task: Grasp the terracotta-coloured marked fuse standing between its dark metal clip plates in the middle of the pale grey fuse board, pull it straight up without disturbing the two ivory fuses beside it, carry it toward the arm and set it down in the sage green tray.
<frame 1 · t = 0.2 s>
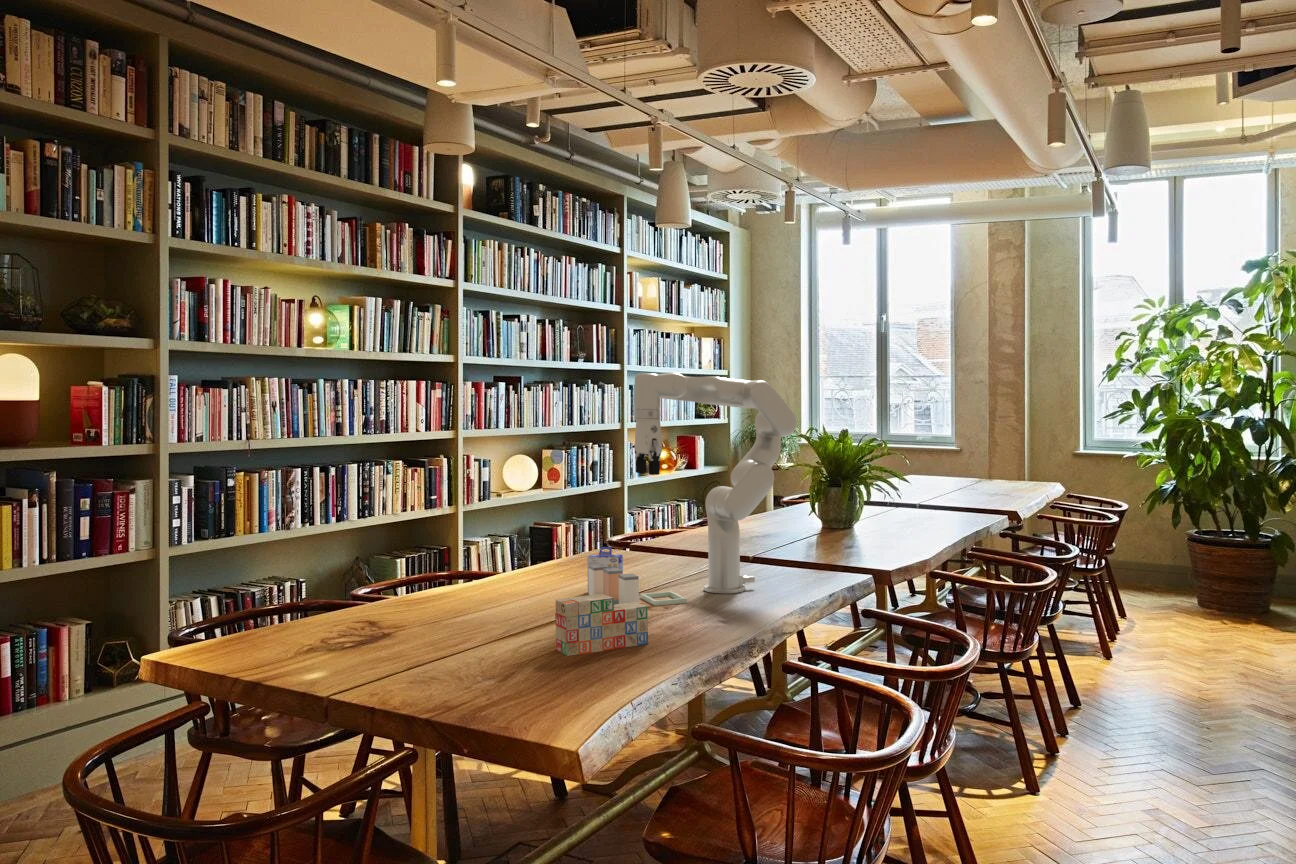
hand: (647, 473, 297), 36 cm above the table, tool pointing down, fingers open, 9 cm apart
marked fuse: (613, 604, 282), point 1 cm above the table, touching fuse board
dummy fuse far: (598, 600, 290), point 1 cm above the table, touching fuse board
tray: (663, 604, 287), on the table
ink cartridge box: (605, 596, 301), on the table
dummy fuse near: (628, 611, 274), point 1 cm above the table, touching fuse board
fuse board: (613, 609, 282), on the table
stack of blocks: (602, 648, 239), on the table
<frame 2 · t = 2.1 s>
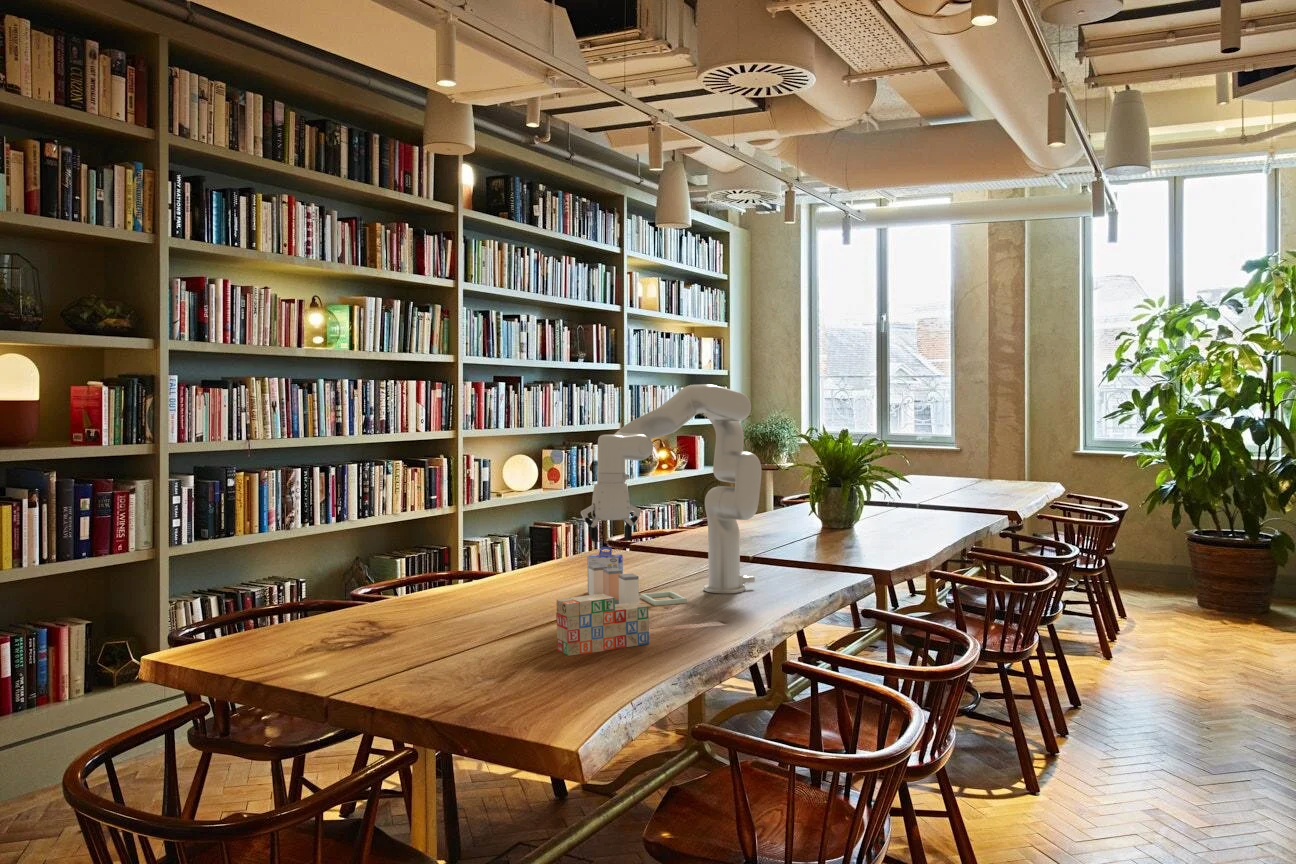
hand: (610, 540, 281), 19 cm above the table, tool pointing down, fingers open, 9 cm apart
nothing on the table moved.
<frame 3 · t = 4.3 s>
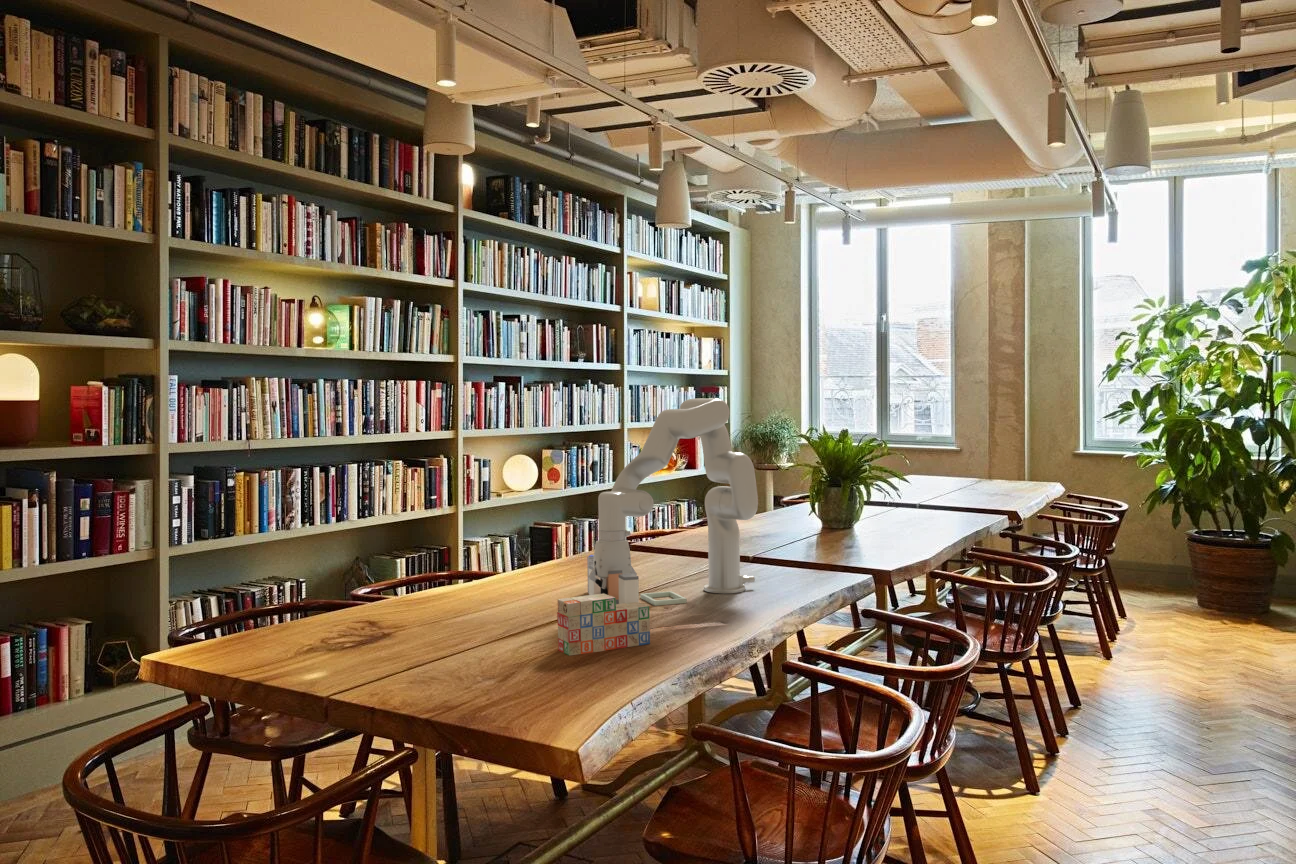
hand: (613, 600, 282), 2 cm above the table, tool pointing down, fingers closed on marked fuse, 4 cm apart
marked fuse: (613, 604, 282), point 1 cm above the table, touching fuse board, gripper
everything else where it was.
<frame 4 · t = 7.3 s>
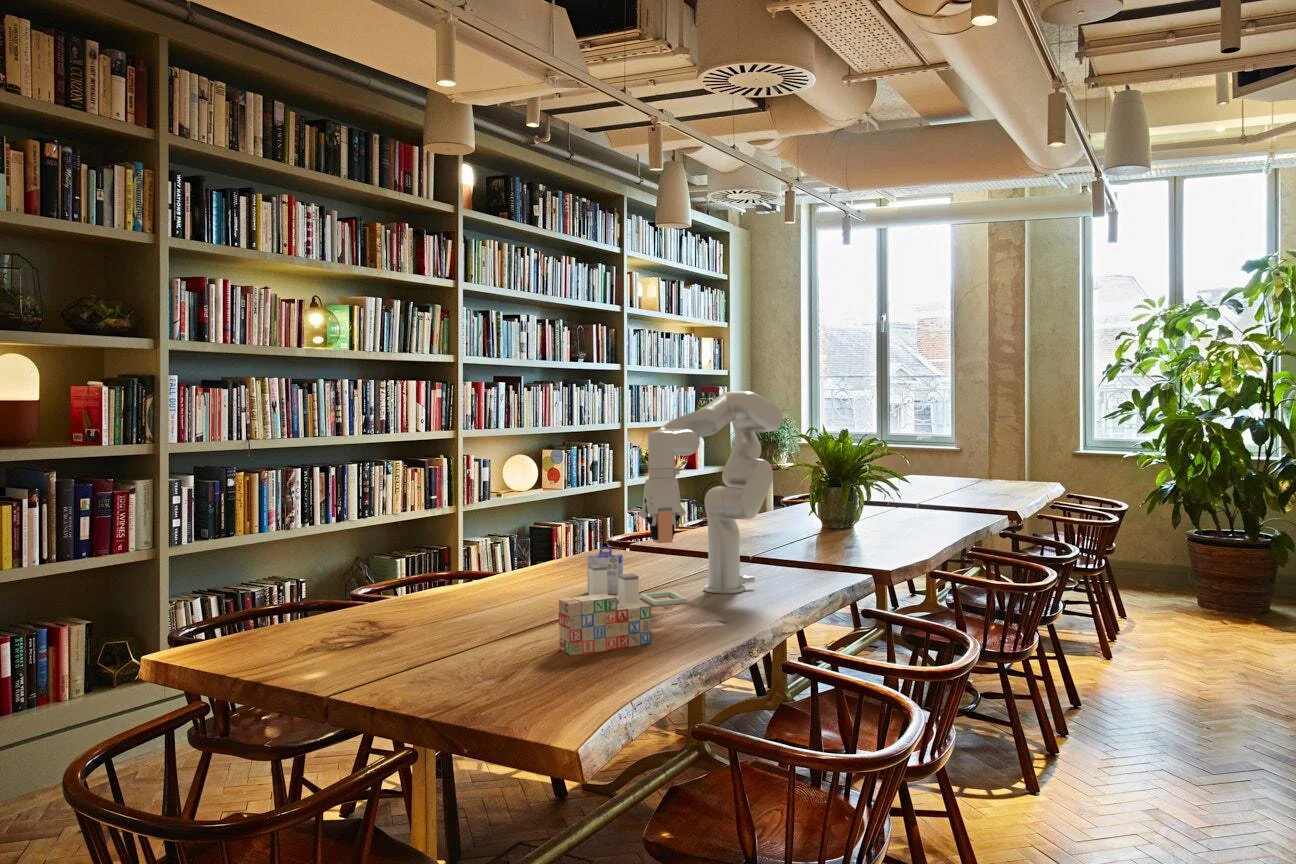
hand: (662, 538, 286), 19 cm above the table, tool pointing down, fingers closed on marked fuse, 4 cm apart
marked fuse: (662, 541, 286), point 18 cm above the table, touching gripper
everything else where it was.
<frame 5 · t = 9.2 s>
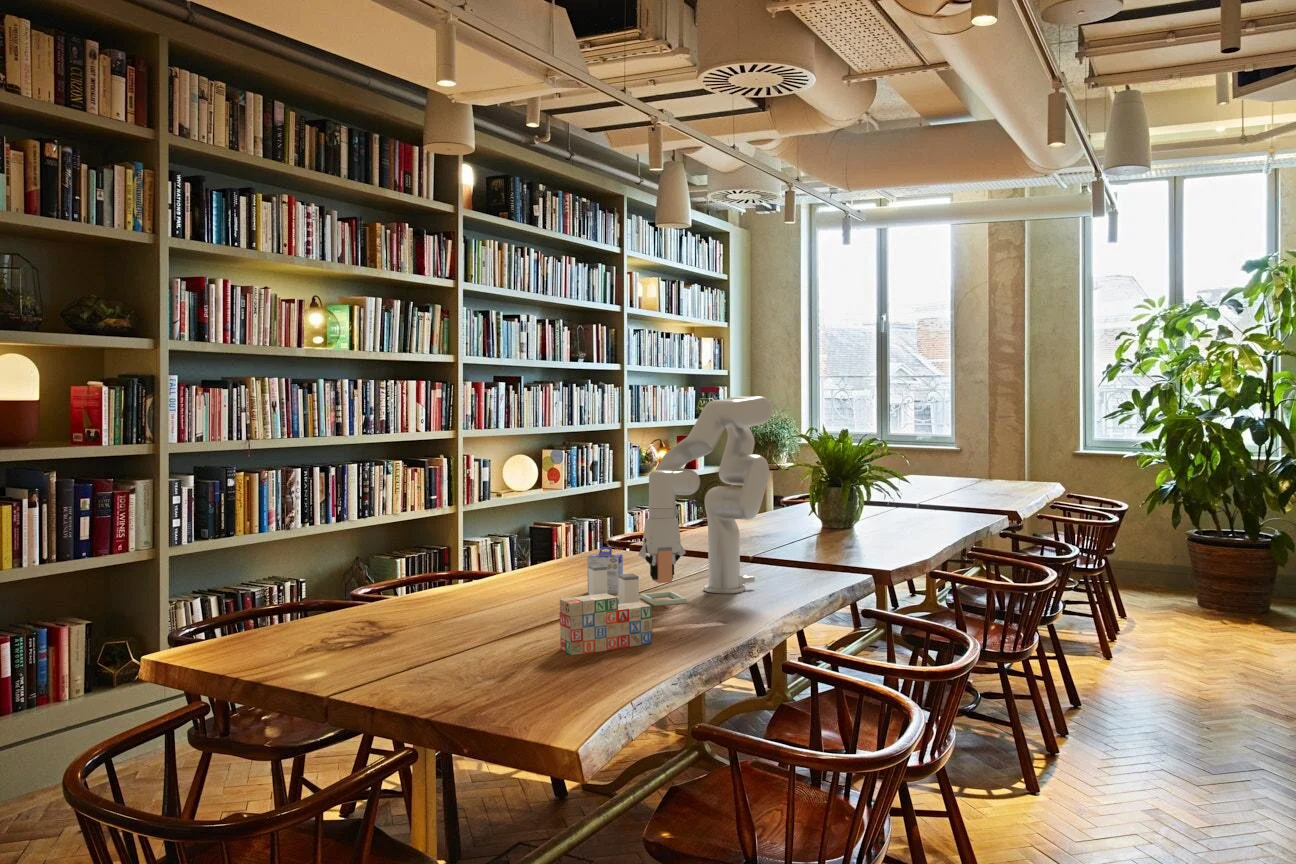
hand: (662, 577, 286), 8 cm above the table, tool pointing down, fingers closed on marked fuse, 4 cm apart
marked fuse: (662, 581, 286), point 7 cm above the table, touching gripper
when the fingers open (3 cm above the table, at t = 10.5 s): marked fuse drops 1 cm, resting on tray.
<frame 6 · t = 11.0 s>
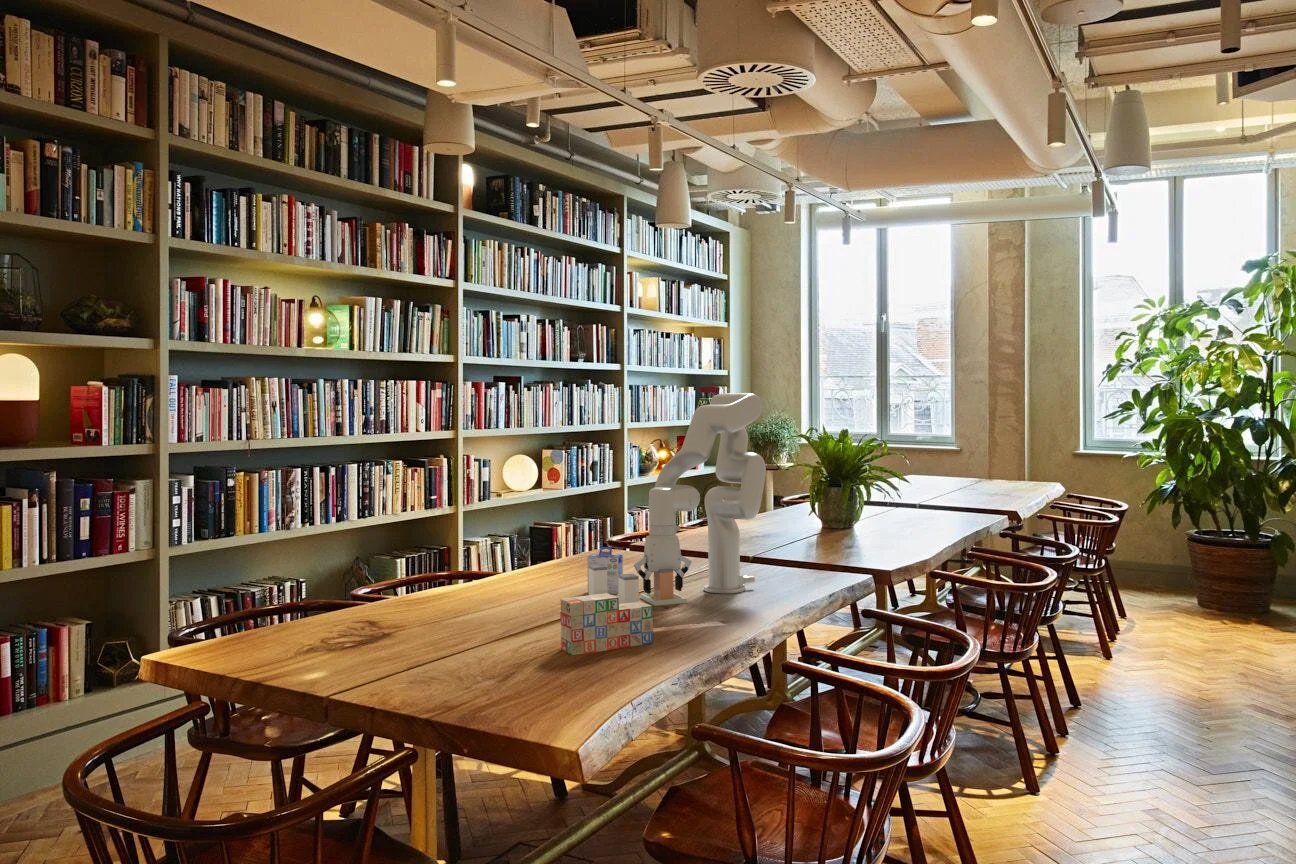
hand: (663, 591, 287), 4 cm above the table, tool pointing down, fingers open, 9 cm apart
marked fuse: (663, 602, 287), point 1 cm above the table, touching tray
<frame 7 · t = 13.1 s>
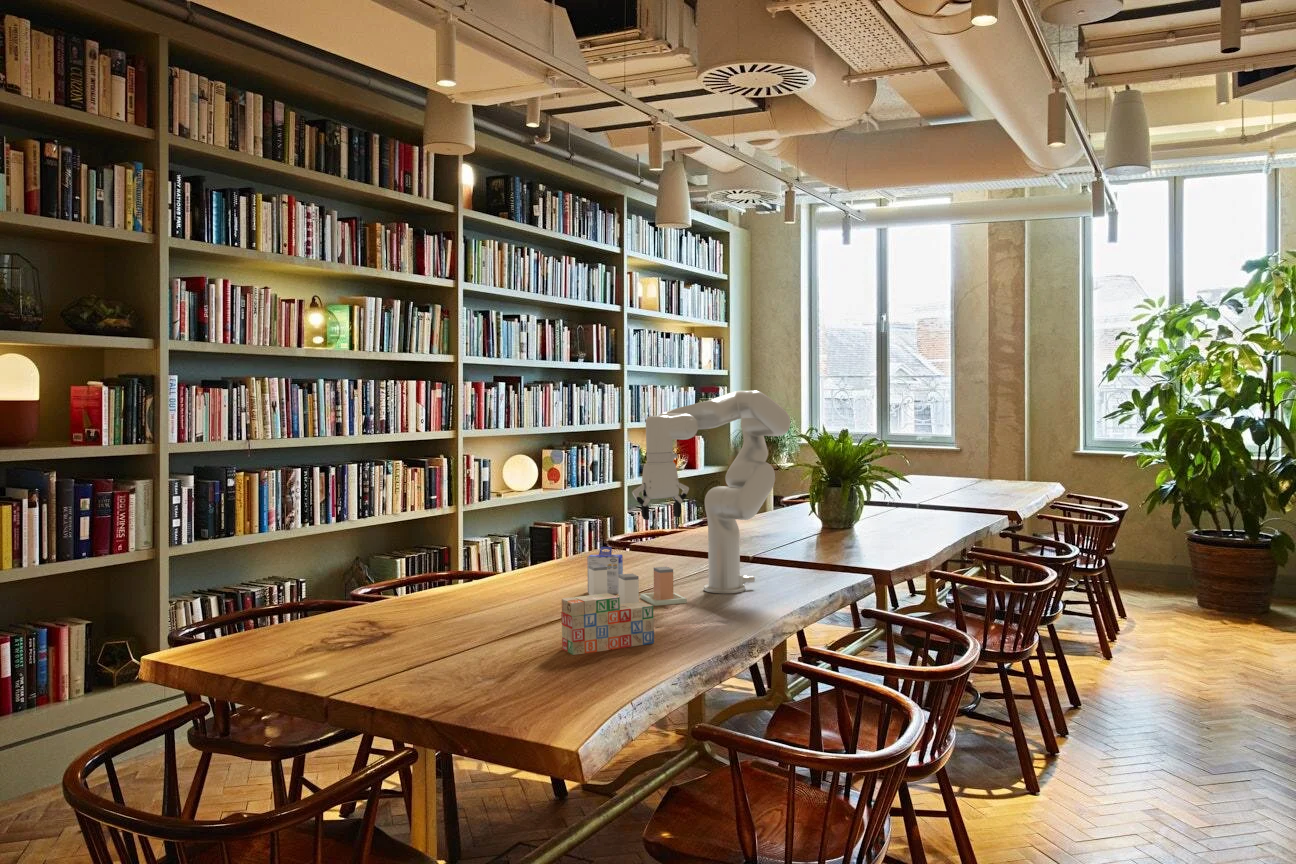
hand: (661, 518, 290), 24 cm above the table, tool pointing down, fingers open, 9 cm apart
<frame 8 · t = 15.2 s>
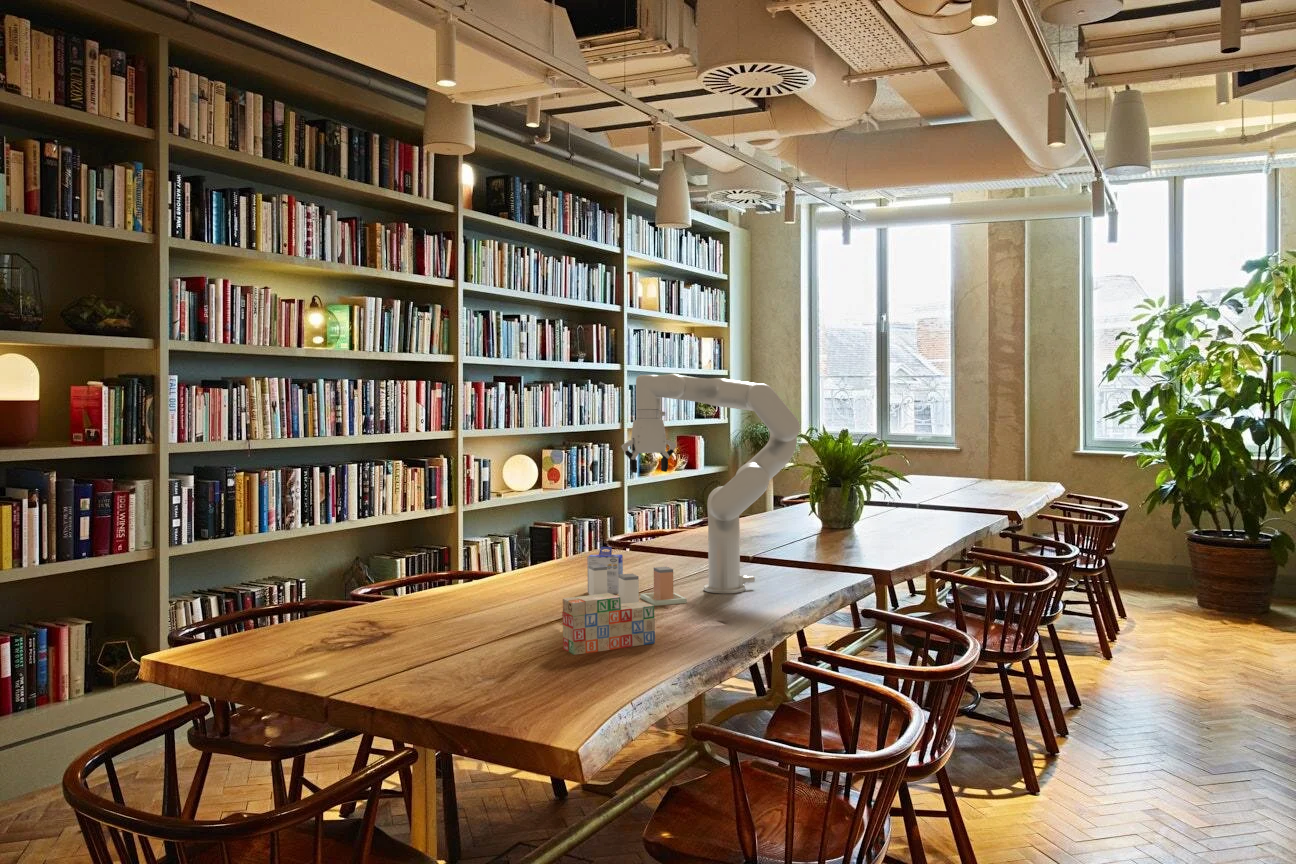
hand: (649, 471, 307), 36 cm above the table, tool pointing down, fingers open, 9 cm apart
at the end: marked fuse inside the target area on the tray (0.1 cm from its centre), point 0.6 cm above the tray's base; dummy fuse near moved 0.1 cm from its start; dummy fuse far moved 0.1 cm from its start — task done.
